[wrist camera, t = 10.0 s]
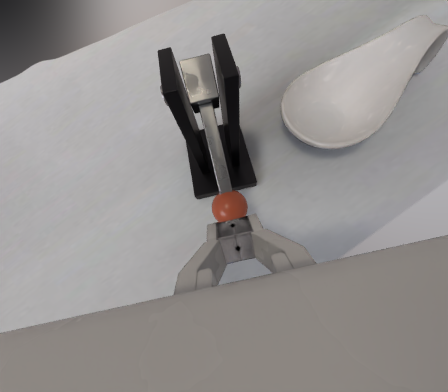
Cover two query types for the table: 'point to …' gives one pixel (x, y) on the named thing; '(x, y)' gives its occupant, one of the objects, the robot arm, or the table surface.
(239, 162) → the switch bracket
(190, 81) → the power lever
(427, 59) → the spoon rest
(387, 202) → the table surface
